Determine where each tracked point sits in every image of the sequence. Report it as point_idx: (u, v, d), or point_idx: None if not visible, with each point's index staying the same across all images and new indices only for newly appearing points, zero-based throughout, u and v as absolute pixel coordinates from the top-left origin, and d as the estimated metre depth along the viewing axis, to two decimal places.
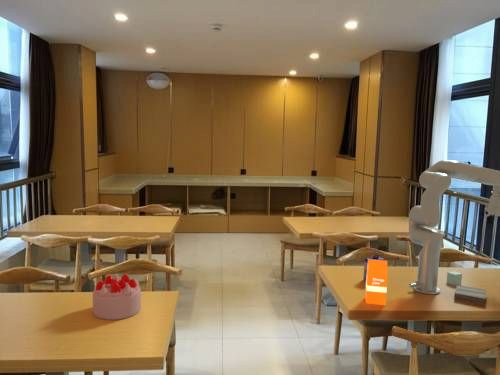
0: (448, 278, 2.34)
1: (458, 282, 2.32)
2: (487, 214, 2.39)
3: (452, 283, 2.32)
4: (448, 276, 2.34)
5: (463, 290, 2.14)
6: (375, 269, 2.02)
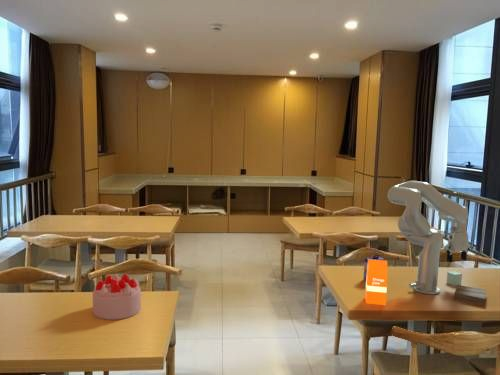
0: (448, 278, 2.34)
1: (458, 282, 2.32)
2: (450, 252, 2.29)
3: (452, 283, 2.32)
4: (448, 276, 2.34)
5: (463, 290, 2.14)
6: (375, 269, 2.02)
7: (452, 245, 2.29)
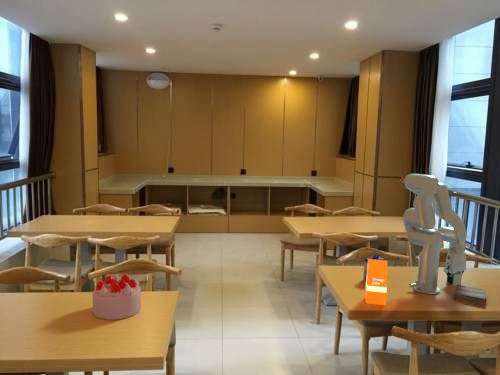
0: None
1: (458, 282, 2.32)
2: (450, 274, 2.31)
3: (452, 283, 2.32)
4: None
5: (463, 290, 2.14)
6: (375, 269, 2.02)
7: (450, 265, 2.30)
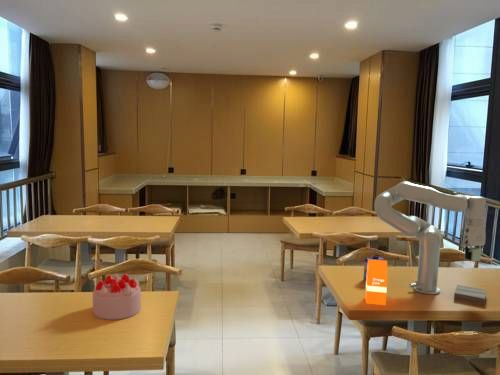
0: None
1: (477, 258, 2.10)
2: (469, 249, 2.09)
3: (471, 259, 2.10)
4: None
5: (463, 290, 2.14)
6: (375, 269, 2.02)
7: (469, 239, 2.08)
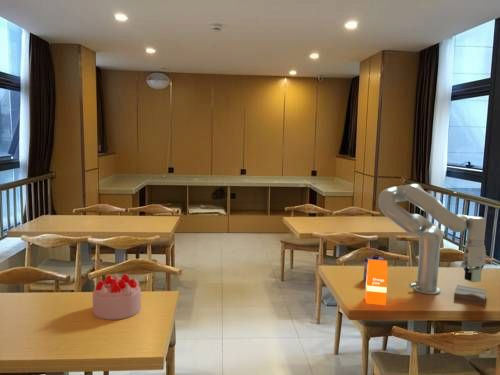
0: None
1: (477, 278, 2.09)
2: (469, 270, 2.08)
3: (471, 279, 2.09)
4: None
5: (463, 290, 2.14)
6: (375, 269, 2.02)
7: (468, 260, 2.07)
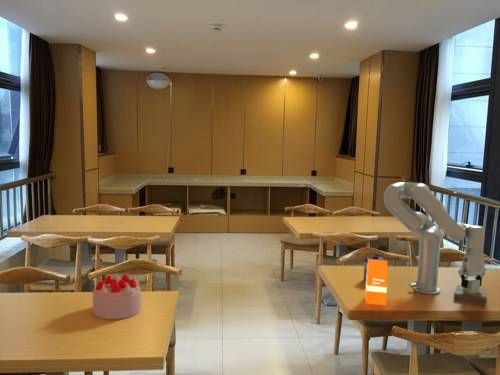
0: None
1: (476, 290, 2.10)
2: (465, 277, 2.08)
3: (469, 291, 2.10)
4: None
5: None
6: (375, 269, 2.02)
7: (467, 269, 2.08)
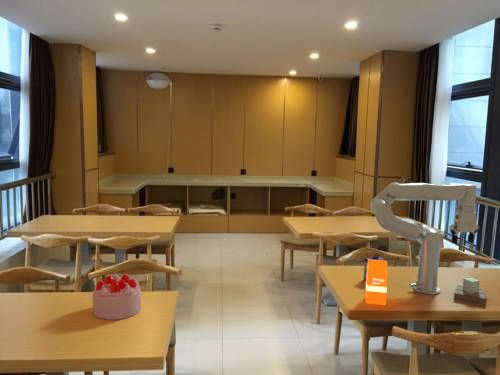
0: (464, 285, 2.13)
1: (476, 290, 2.10)
2: (455, 233, 2.15)
3: (469, 291, 2.10)
4: (464, 283, 2.13)
5: None
6: (375, 269, 2.02)
7: (458, 225, 2.15)
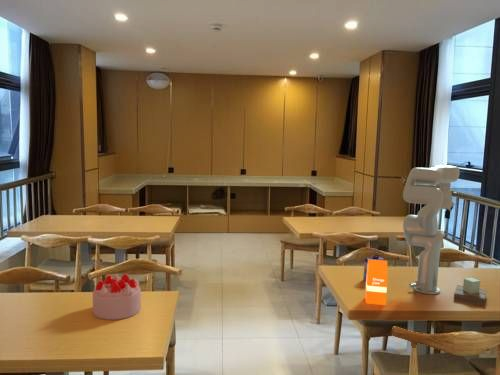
0: (465, 285, 2.13)
1: (476, 290, 2.10)
2: None
3: (469, 291, 2.10)
4: (465, 283, 2.13)
5: None
6: (375, 269, 2.02)
7: None
